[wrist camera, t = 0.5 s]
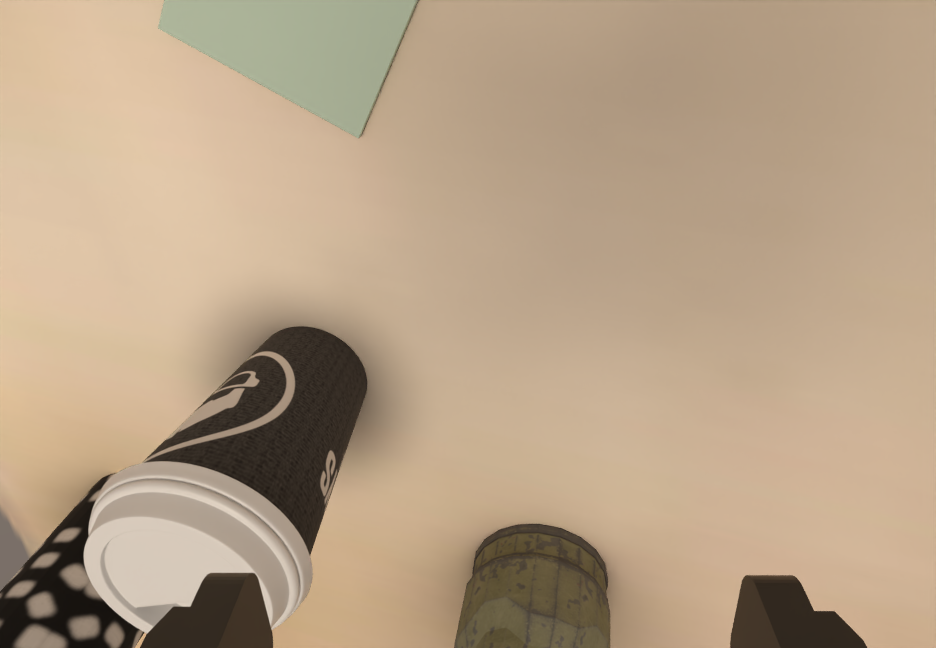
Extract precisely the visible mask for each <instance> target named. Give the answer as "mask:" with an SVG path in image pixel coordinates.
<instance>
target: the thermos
mask: <svg viewBox="0 0 936 648" xmlns="http://www.w3.org/2000/svg"><path fill="white" fill-rule="evenodd" d="M607 587H608V579H607V573H606V567H605V563H604V562H603V560H602V559H601V557H600V555H599V554H598V552H597V551H596V549H594V548H593V547H592V546H591V545H589V544H588V543H587V542H586V541H584V540H583V539H582V538H581V537H579V536H576V535H574V534H572V533H570V532H568V531H565V530H563V529H561V528H556V527H551V526H546V525H541V524H529V525H516V526H512V527H508V528H505V529H501V530H499V531H497V532H495V533H494V534H492V535H491V536H489V537H488V538H486V539H485V540H484V541H483V543H482V544H481V546H480V547H479V549H478V550H477V551H476V556H475V561H474V567H473V576H472V578H471V579H470V581H469V582H468V583H467V587H466V592H465V596H464V601H463V606H462V611H461V616H460V620H459V625H458V630H457V635H456V640H455V646H454V648H610V610H609V604H608V599H607V597H606V590H607Z"/></svg>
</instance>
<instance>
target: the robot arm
mask: <svg viewBox="0 0 936 648" xmlns="http://www.w3.org/2000/svg"><path fill="white" fill-rule="evenodd" d="M140 648H273V636H272V630H271V626H270V622H269V618H268V614H267V610H266V607H265V603H264V599H263V595H262V591H261V587H260V583H259V580H258V577H257V575H256V574H255V573H209V574H207V575H206V576H205V578H204V579H203V581H202V583H201V585H200V587H199V589H198V591H197V593H196V595H195V597H194V600H193V602H192V604H191V606H190V607H176V606H173V607H172V608H171V609H170V611H169V612H168V613H167V614H166V615H165V616H164V617H163V618H162V619H161V620H160V621H159V622H158V623H157V624H156V625H155V626H154V627H153V628H152V629H151V630H150V631H149V632H148V633H147V635H146V637H145V639H144V641H143V643H142V645H141V647H140ZM730 648H867V646H866V645H865V643H864V641H863V640H862V639H861V638H860V637H859V636H858V635H857V634H856V633H855V632H854V631H853V629H852V628H851V627H850V626H849V625H848V624H847V623H846V622H845V621H844V620H843V619H842V618H841V617H840V616H839V615H838V614H837V613H836V612H835V611H814V610H813V608H812V606H811V604H810V601H809V599H808V597H807V595H806V593H805V591H804V589H803V587H802V585H801V583H800V582H799V580H798V579H797V578H796V577H795V576H791V575H746V576H745V577H744V578H743V580H742V584H741V589H740V594H739V599H738V604H737V609H736V614H735V618H734V623H733V628H732V633H731V642H730Z"/></svg>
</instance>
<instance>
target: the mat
mask: <svg viewBox="0 0 936 648" xmlns="http://www.w3.org/2000/svg"><path fill="white" fill-rule="evenodd" d="M417 2H418V0H164V4H163V9H162V13H161V17H160V22H159V26H158V29H160V30H162V31H164V32H166V33H167V34H169V35H171V36H173V37H175V38H177V39H178V40H180V41H182V42H184V43H186V44H187V45H189V46H191V47H193V48H195V49H197V50H198V51H200V52H202V53H204V54H206V55H207V56H209V57H211V58H213V59H215V60H217V61H218V62H220V63H222V64H224V65H226V66H228V67H229V68H231V69H233V70H235V71H237V72H238V73H240V74H242V75H244V76H246V77H248V78H249V79H251V80H253V81H255V82H257V83H258V84H260V85H262V86H264V87H266V88H268V89H269V90H271V91H273V92H275V93H277V94H279V95H280V96H282V97H284V98H286V99H288V100H289V101H291V102H293V103H295V104H297V105H299V106H300V107H302V108H304V109H306V110H308V111H309V112H311V113H313V114H315V115H317V116H319V117H320V118H322V119H324V120H326V121H328V122H330V123H331V124H333V125H335V126H337V127H339V128H340V129H342V130H344V131H346V132H348V133H350V134H351V135H353V136H355V137H357V138H360V137H361V135H362V133H363V131H364V128H365V126H366V123H367V121H368V119H369V116H370V114H371V112H372V109H373V107H374V104H375V102H376V100H377V97H378V95H379V93H380V90H381V88H382V85H383V83H384V81H385V78H386V76H387V74H388V71H389V69H390V66H391V64H392V62H393V59H394V57H395V55H396V52H397V50H398V47H399V45H400V43H401V40H402V38H403V36H404V33H405V31H406V28H407V26H408V24H409V21H410V19H411V17H412V14H413V12H414V9H415V7H416V5H417Z"/></svg>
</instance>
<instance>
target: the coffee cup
mask: <svg viewBox="0 0 936 648" xmlns="http://www.w3.org/2000/svg"><path fill="white" fill-rule="evenodd" d="M366 389H367V379H366V374H365V371H364V368H363V366H362V364H361V362H360V360H359V358H358V357H357V356H356V354H355V353H354V352H353V351H352V350H351V349H350V348H349V347H348V346H347V345H346V344H345V343H344V342H342V341H341V340H340V339H338V338H337V337H335V336H333V335H331V334H329V333H327V332H324V331H322V330H318V329H315V328H309V327H292V328H287V329H284V330H281V331H279V332H277V333H275V334H274V335H272V336H271V337H270V338H269V339H268V340H267V341H266V342H265V343H263V344H262V345H261V346H260V347H259V348H258V349H257V350H256V351H255V352H254V353H253V354H252V355H251V356H250V357H249V358H248V359H247V360H246V361H245V362H244V363H243V364H242V365H241V366H240V367H239V368H238V369H237V370H236V371H235V372H234V373H233V374H232V375H231V376H230V377H229V378H228V379H227V380H226V381H225V382H224V383H223V384H222V385H221V386H220V387H219V388H218V389H217V390H216V391H215V392H214V393H213V394H212V395H211V396H210V397H209V398H208V399H207V400H206V401H205V402H204V403H203V404H202V405H201V406H200V407H199V408H198V409H197V410H196V411H195V412H194V413H193V414H192V415H191V416H190V417H189V418H187V419H186V420H185V421H184V422H183V423H182V424H181V425H180V426H179V427H178V428H177V429H176V430H175V431H174V432H173V433H172V434H171V435H170V436H169V437H168V438H167V439H166V440H165V441H164V442H163V443H162V444H161V445H160V446H159V447H158V448H157V449H156V450H155V451H154V452H153V453H152V454H151V455H150V456H148V457H147V458H146V459H145V460H144V461H143V462H142V463H141V464H137V465H133V466H130V467H128V468H125V469H123V470H121V471H119V472H118V473H116V474H115V475H113V476H112V477H111V478H110V479H109V480H108V481H107V482H106V483H105V484H104V486H103V487H102V489H101V491H100V493H99V495H98V497H97V499H96V501H95V504H94V506H93V509H92V513H91V517H90V520H89V528H88V534H89V537H88V539H87V541H86V544H85V548H84V565H85V569H86V572H87V575H88V577H89V579H90V581H91V583H92V585H93V587H94V588H95V590H96V591H97V593H98V594H99V595H100V596H101V598H102V599H103V600H104V601H105V602H106V603H107V604H108V605H109V606H110V607H111V608H112V609H113V610H114V611H115V612H116V613H117V614H118V615H120V616H121V617H122V618H123V619H125V620H126V621H127V622H129V623H130V624H132V625H133V626H135V627H136V628H138V629H140V630H141V631H143V632H145V633H148V632H149V631H150V630H151V629H152V628H153V627H154V626H155V625H156V624H157V623H158V622H159V621H160V620H161V619H162V618H163V617H164V616H165V615H166V614H167V613H168V612H169V611H170V609H171V608H172V607H173V606H176V607H190V606H191V604H192V602H193V600H194V597H195V595H196V593H197V591H198V589H199V587H200V585H201V583H202V581H203V579H204V578H205V576H206V575H207V574H209V573H255V574H256V575H257V577H258V580H259V583H260V587H261V591H262V595H263V599H264V603H265V607H266V610H267V614H268V618H269V622H270V626H271V630H272V629H274V628H276V627H277V626H279V625H280V624H282V623H283V622H284V621H285V620H286V619H287V618H288V617H290V616H291V615H292V614H293V613H294V612H295V610H296V609H297V608H298V607H299V605H300V604H301V603H302V602H303V601H304V599H305V598H306V596H307V594H308V592H309V590H310V587H311V583H312V563H311V558H310V554H311V551H312V548H313V545H314V542H315V539H316V536H317V533H318V530H319V527H320V524H321V522H322V519H323V516H324V513H325V510H326V507H327V504H328V501H329V498H330V495H331V492H332V490H333V487H334V484H335V481H336V478H337V475H338V472H339V469H340V466H341V464H342V461H343V458H344V455H345V452H346V449H347V446H348V443H349V440H350V438H351V435H352V432H353V429H354V426H355V423H356V420H357V418H358V415H359V412H360V409H361V406H362V403H363V400H364V397H365V394H366Z"/></svg>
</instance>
